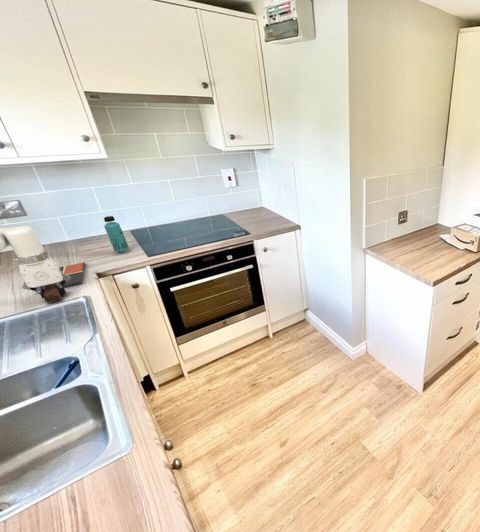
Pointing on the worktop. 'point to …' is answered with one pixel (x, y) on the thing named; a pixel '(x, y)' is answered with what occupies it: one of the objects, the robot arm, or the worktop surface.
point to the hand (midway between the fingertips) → (55, 296)
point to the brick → (52, 293)
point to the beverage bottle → (115, 235)
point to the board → (73, 274)
